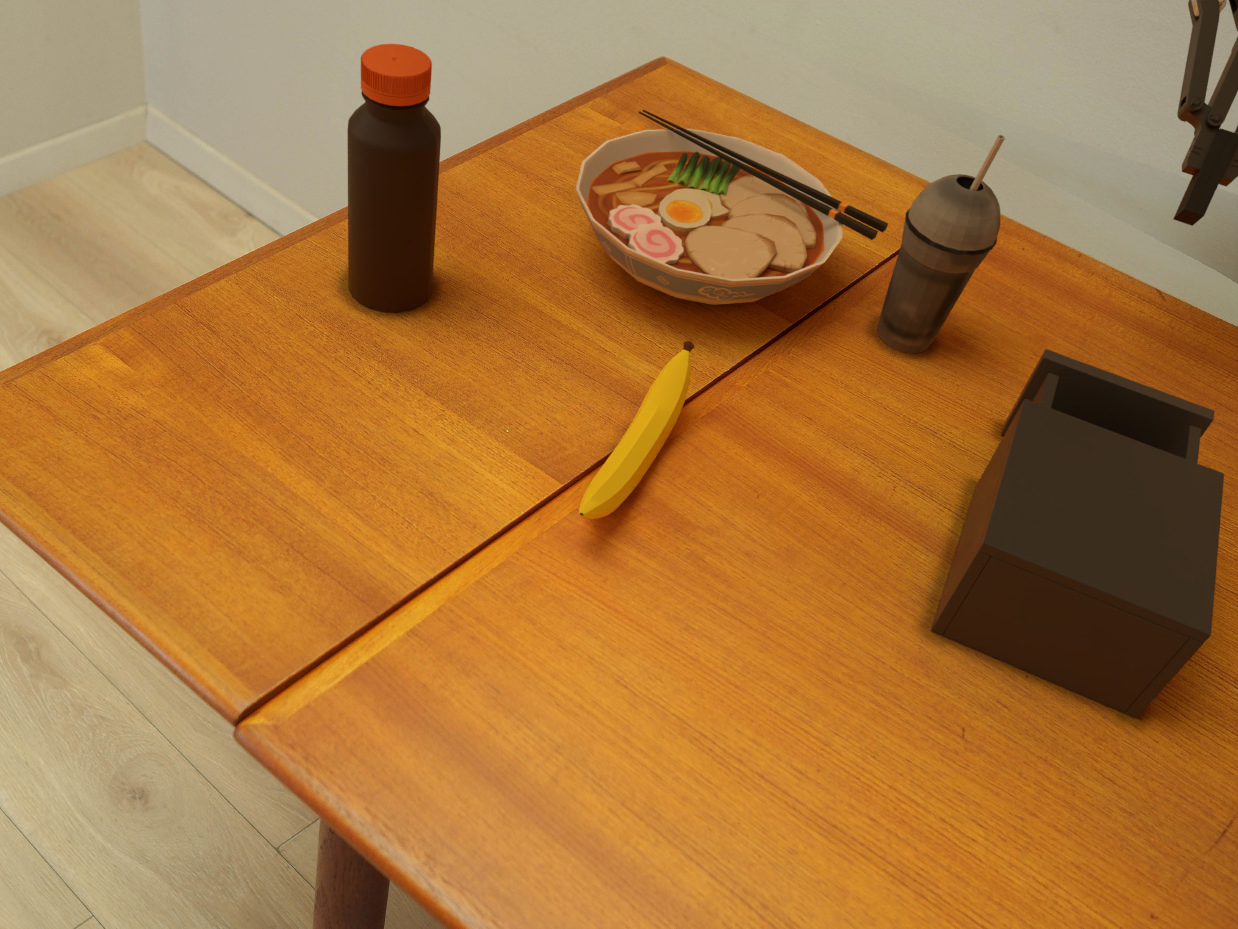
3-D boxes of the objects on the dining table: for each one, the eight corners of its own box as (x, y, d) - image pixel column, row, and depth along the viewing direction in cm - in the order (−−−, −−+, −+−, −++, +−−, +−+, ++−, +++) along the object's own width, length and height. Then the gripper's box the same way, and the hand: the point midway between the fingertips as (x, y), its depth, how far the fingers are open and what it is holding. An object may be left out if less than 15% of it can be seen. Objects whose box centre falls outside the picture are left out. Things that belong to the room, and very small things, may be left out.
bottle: (330, 290, 95) (326, 54, 80) (391, 259, 99) (397, 28, 84) (389, 331, 92) (395, 94, 78) (448, 297, 96) (465, 65, 81)
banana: (551, 555, 78) (563, 490, 74) (656, 397, 91) (672, 333, 86) (590, 572, 78) (605, 507, 73) (690, 411, 90) (708, 347, 85)
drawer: (1012, 395, 95) (1053, 319, 89) (1165, 453, 92) (1218, 378, 87) (967, 542, 83) (1012, 464, 77) (1142, 613, 80) (1202, 539, 75)
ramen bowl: (500, 253, 101) (510, 169, 95) (659, 167, 114) (676, 89, 108) (732, 400, 92) (759, 317, 86) (876, 288, 105) (908, 209, 99)
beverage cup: (921, 314, 103) (1014, 103, 88) (957, 368, 98) (1062, 154, 84) (846, 317, 101) (928, 102, 87) (879, 372, 96) (972, 154, 82)
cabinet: (971, 493, 88) (1024, 398, 81) (1153, 565, 85) (1224, 473, 78) (926, 637, 78) (983, 542, 71) (1131, 725, 75) (1211, 635, 68)
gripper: (1387, -26, 90) (1257, 259, 91) (1215, -74, 93) (1091, 203, 94) (1438, -77, 82) (1296, 234, 84) (1250, -128, 85) (1115, 173, 87)
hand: (1188, 217), depth 89 cm, fingers closed
